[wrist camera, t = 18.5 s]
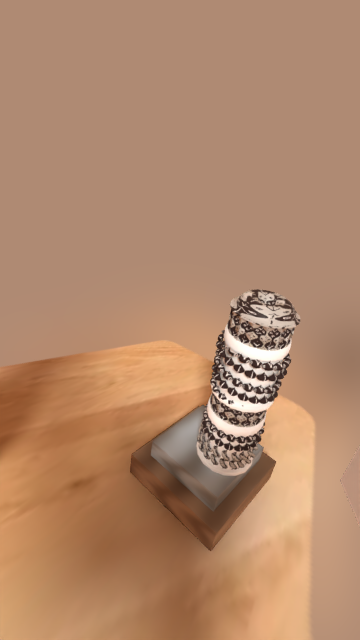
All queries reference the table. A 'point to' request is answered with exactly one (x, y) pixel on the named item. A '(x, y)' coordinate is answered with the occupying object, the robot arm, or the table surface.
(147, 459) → the tower base
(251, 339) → the patterned studded column
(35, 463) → the table surface
